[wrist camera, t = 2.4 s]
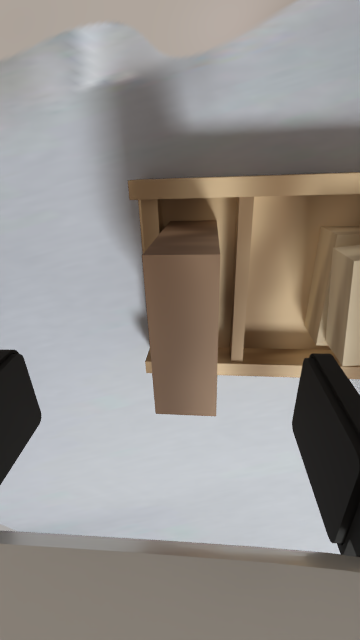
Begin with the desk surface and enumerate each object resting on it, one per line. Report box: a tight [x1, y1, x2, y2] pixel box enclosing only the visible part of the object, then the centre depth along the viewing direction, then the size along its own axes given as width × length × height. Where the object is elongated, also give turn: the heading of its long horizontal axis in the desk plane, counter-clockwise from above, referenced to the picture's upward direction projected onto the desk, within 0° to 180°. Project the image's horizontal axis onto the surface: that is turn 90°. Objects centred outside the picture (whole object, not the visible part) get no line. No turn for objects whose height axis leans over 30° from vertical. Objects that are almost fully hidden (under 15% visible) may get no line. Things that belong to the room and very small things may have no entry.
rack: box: [128, 172, 360, 379], centre depth 20 cm, size 17×13×3 cm
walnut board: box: [142, 220, 220, 416], centre depth 17 cm, size 3×8×9 cm, turn 2°
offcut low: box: [304, 226, 360, 346], centre depth 19 cm, size 4×7×3 cm, turn 2°
